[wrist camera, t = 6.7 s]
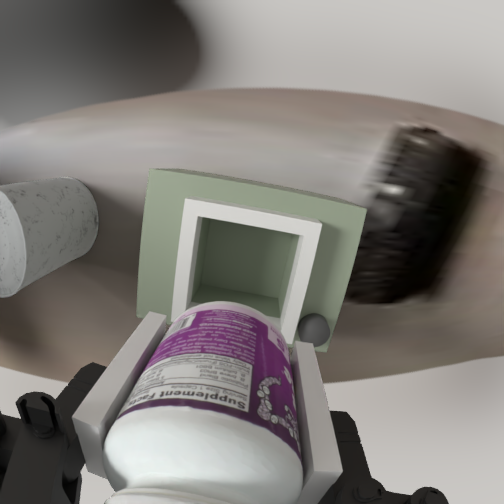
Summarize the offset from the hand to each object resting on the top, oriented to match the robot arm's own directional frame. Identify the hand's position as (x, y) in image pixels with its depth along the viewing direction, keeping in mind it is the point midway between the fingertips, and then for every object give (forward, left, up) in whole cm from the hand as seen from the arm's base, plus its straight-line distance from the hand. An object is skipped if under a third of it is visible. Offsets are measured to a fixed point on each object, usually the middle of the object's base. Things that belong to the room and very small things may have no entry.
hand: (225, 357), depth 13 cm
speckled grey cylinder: (-21, -1, -19) cm, 28 cm away
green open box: (0, 0, -19) cm, 19 cm away
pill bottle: (0, 0, 0) cm, 0 cm away
